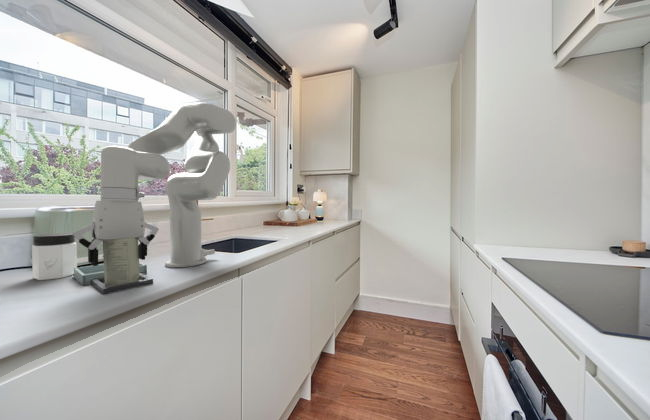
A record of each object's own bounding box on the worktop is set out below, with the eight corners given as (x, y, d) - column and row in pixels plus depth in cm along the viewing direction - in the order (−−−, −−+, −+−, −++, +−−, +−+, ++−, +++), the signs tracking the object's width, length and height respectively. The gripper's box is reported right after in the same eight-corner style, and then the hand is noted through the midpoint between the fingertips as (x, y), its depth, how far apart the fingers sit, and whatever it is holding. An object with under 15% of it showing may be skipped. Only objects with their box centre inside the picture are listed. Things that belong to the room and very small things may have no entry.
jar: (26, 282, 66) (25, 237, 66) (38, 275, 73) (37, 234, 73) (73, 277, 71) (72, 235, 71) (80, 270, 78) (79, 232, 78)
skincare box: (140, 280, 68) (139, 236, 68) (131, 285, 64) (130, 238, 64) (113, 282, 67) (112, 236, 67) (102, 287, 63) (101, 239, 62)
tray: (133, 267, 83) (133, 259, 82) (146, 273, 75) (146, 265, 75) (73, 276, 71) (73, 268, 71) (82, 285, 64) (82, 275, 64)
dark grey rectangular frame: (137, 275, 73) (137, 271, 73) (153, 283, 66) (153, 278, 66) (91, 284, 65) (91, 279, 65) (103, 294, 58) (103, 289, 58)
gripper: (153, 197, 74) (152, 255, 74) (70, 194, 60) (69, 265, 60) (163, 197, 69) (162, 258, 69) (76, 193, 55) (75, 270, 55)
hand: (119, 261), depth 65 cm, fingers open, 9 cm apart
